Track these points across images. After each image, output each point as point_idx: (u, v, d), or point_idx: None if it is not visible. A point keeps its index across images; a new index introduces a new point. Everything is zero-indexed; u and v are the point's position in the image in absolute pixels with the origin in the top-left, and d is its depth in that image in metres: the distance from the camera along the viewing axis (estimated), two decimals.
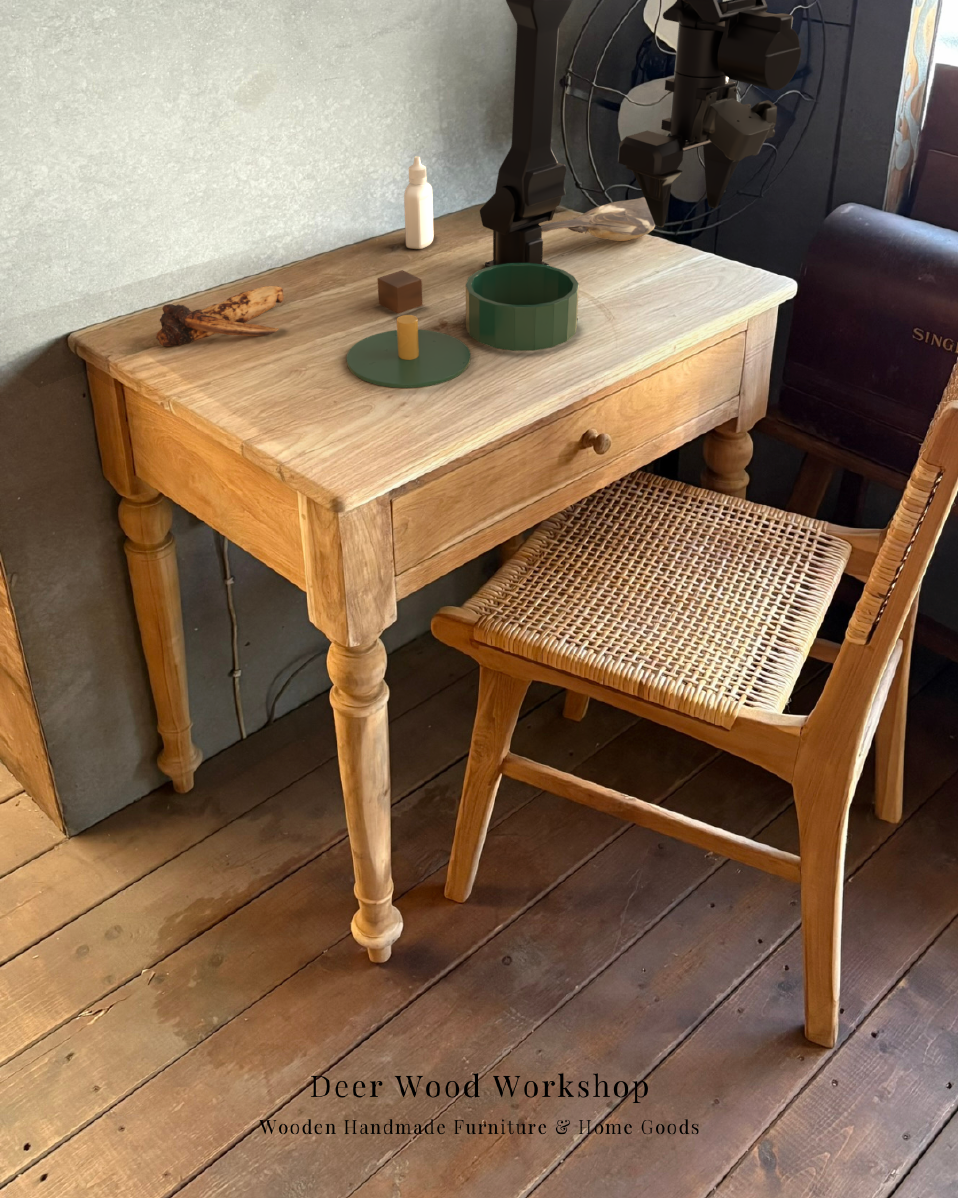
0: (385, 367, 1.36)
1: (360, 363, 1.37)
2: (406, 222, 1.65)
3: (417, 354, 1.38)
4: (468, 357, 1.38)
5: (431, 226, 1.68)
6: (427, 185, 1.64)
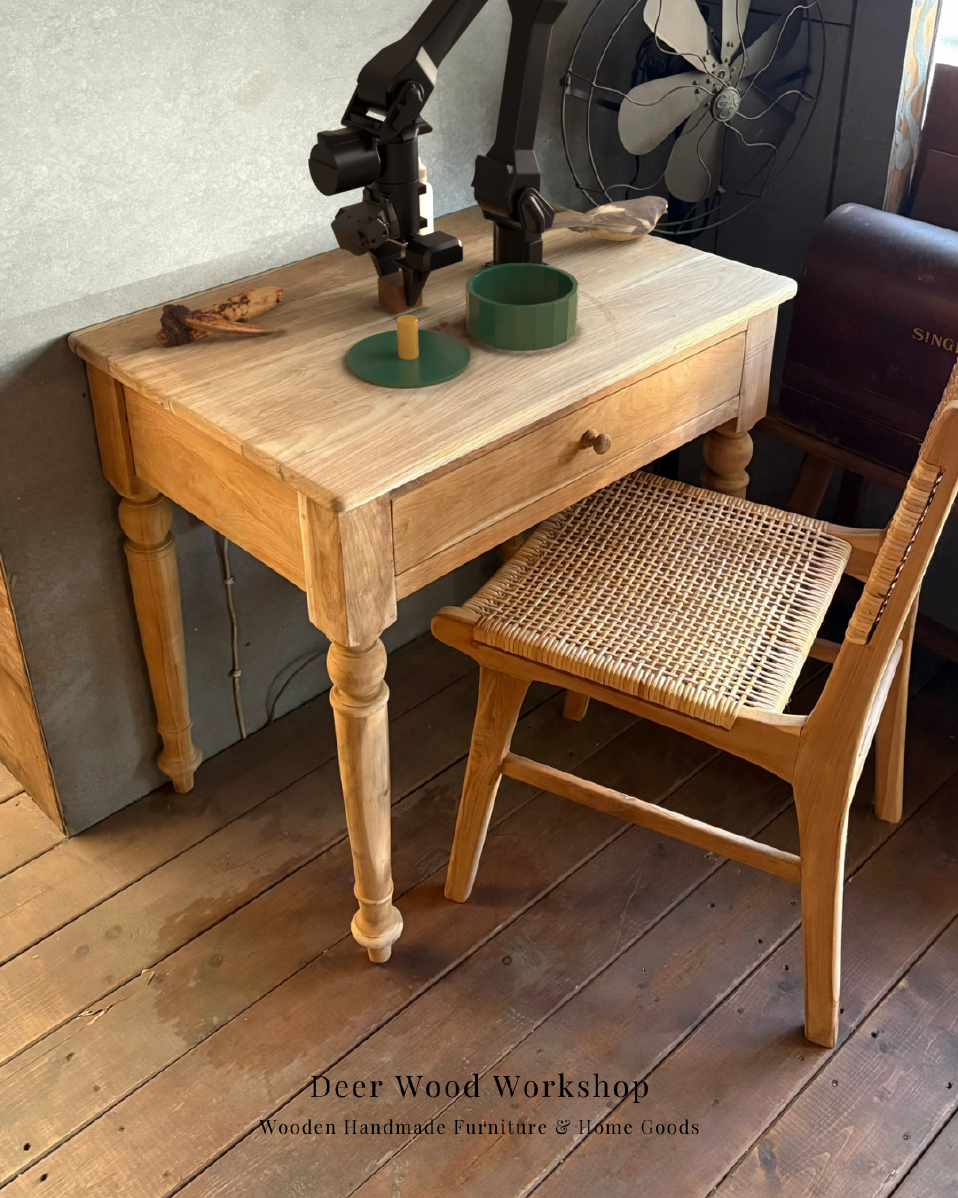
0: (385, 367, 1.36)
1: (360, 363, 1.37)
2: None
3: (417, 354, 1.38)
4: (468, 357, 1.38)
5: (431, 226, 1.68)
6: (427, 185, 1.64)
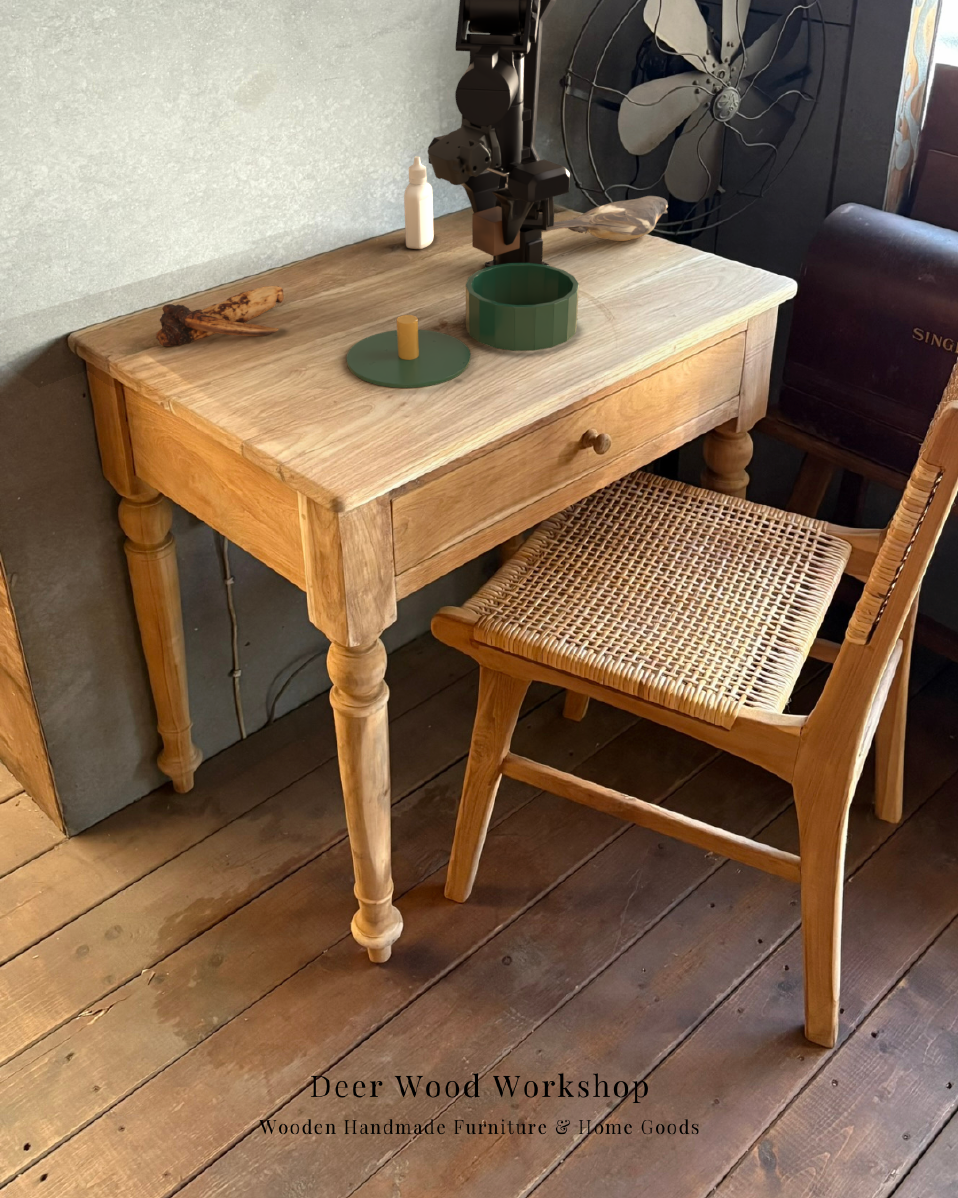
0: (385, 367, 1.36)
1: (360, 363, 1.37)
2: (406, 222, 1.65)
3: (417, 354, 1.38)
4: (468, 357, 1.38)
5: (431, 226, 1.68)
6: (427, 185, 1.64)
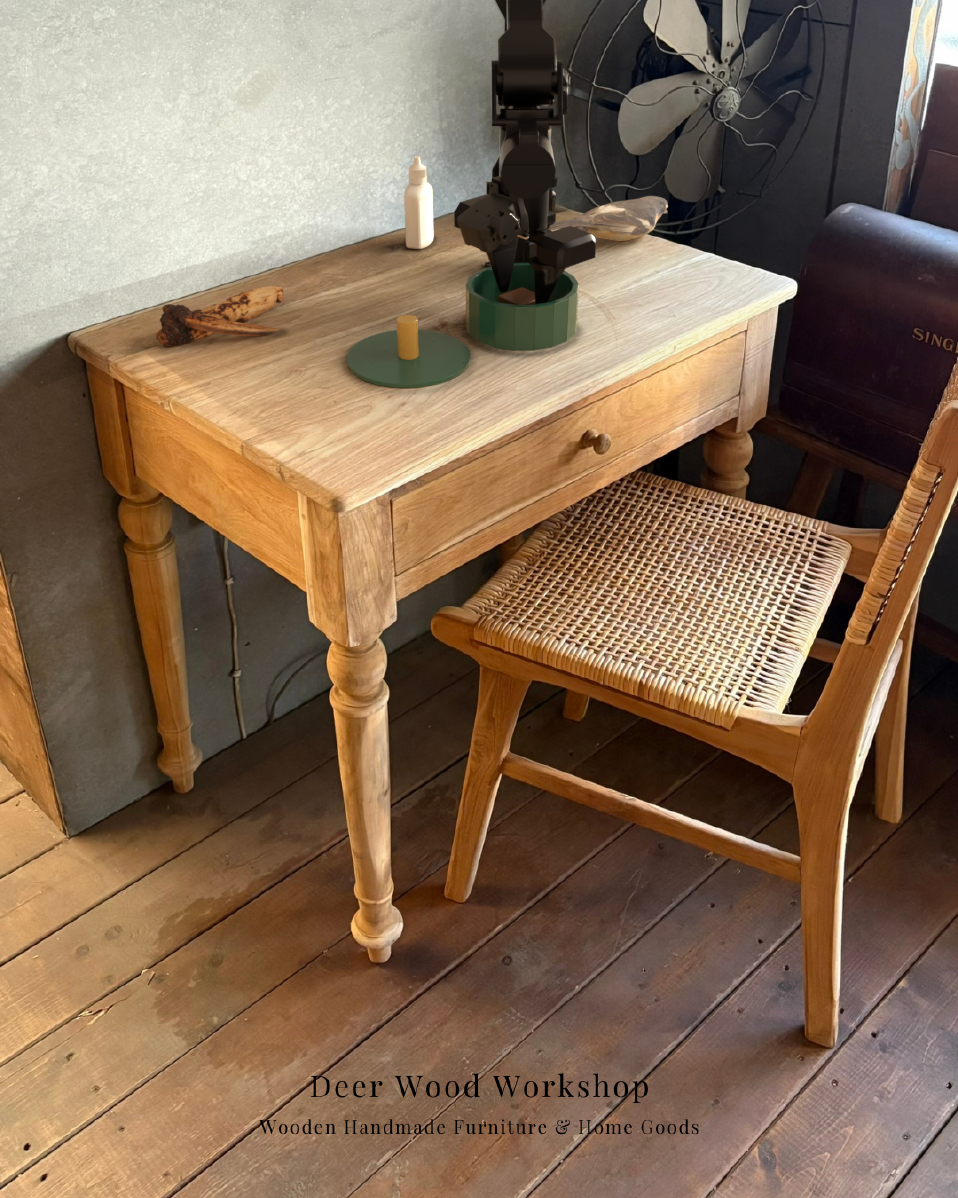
0: (385, 367, 1.36)
1: (360, 363, 1.37)
2: (406, 222, 1.65)
3: (417, 354, 1.38)
4: (468, 357, 1.38)
5: (431, 226, 1.68)
6: (427, 185, 1.64)
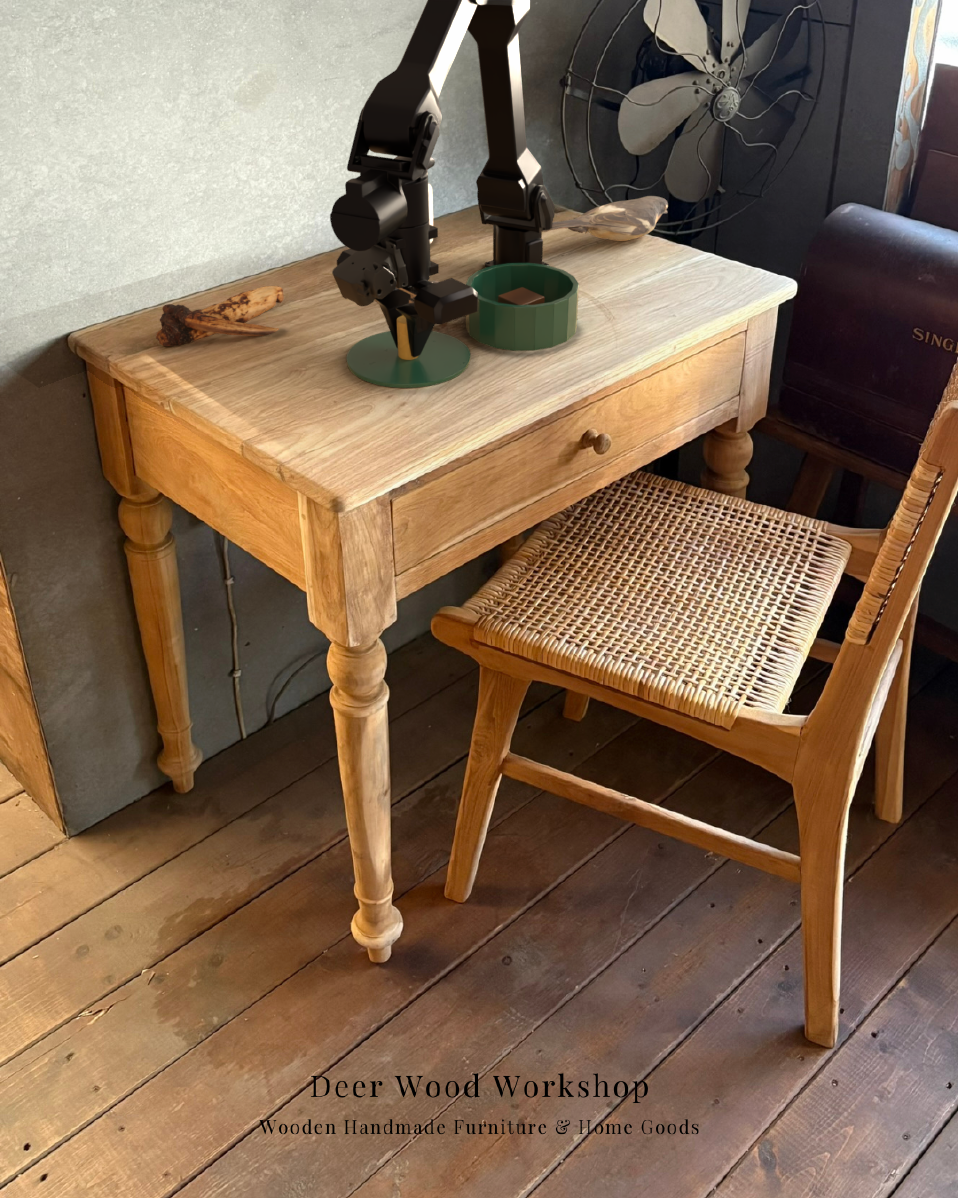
0: (385, 367, 1.36)
1: (360, 363, 1.37)
2: None
3: None
4: (468, 357, 1.38)
5: None
6: None
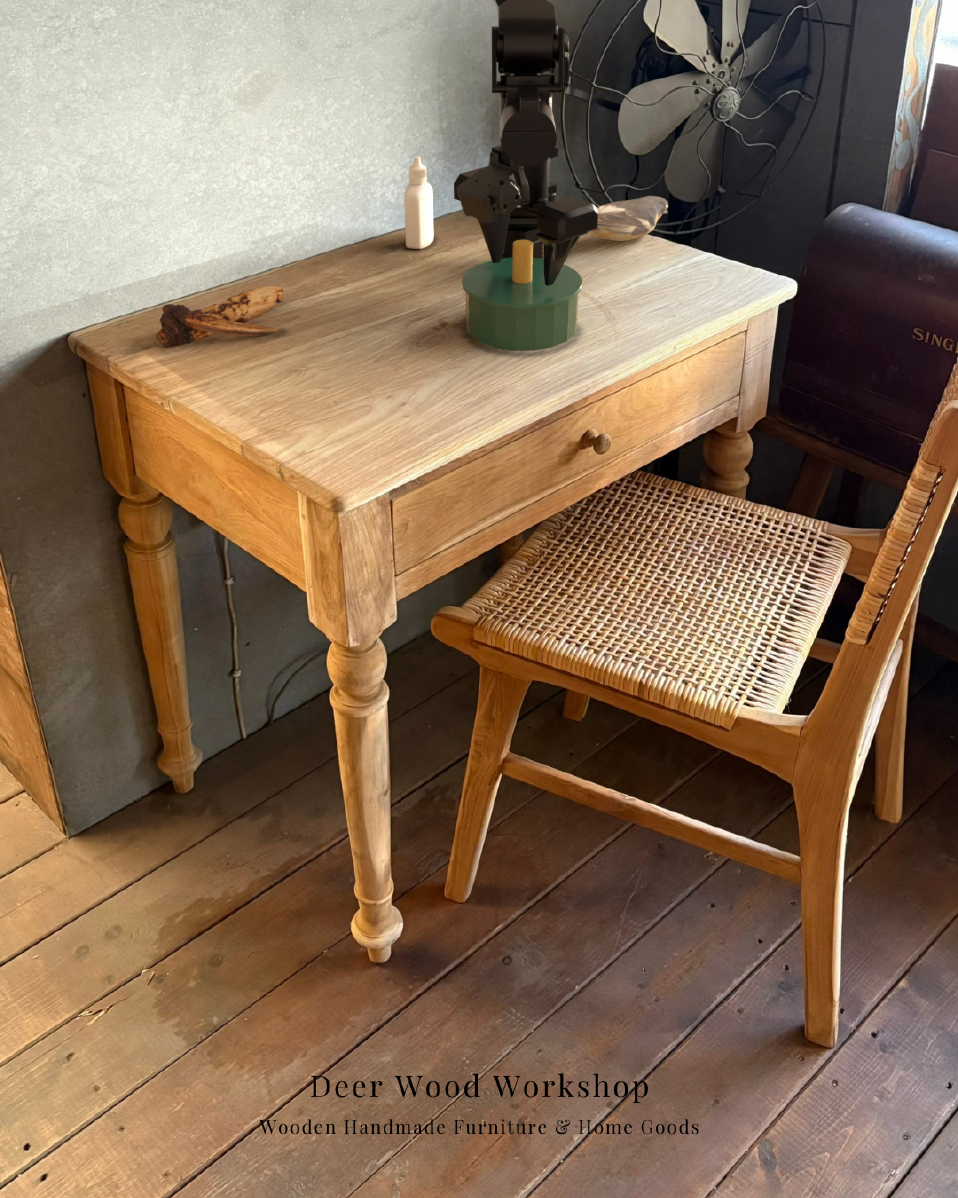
0: (501, 290, 1.40)
1: (476, 286, 1.41)
2: (406, 222, 1.65)
3: (531, 278, 1.42)
4: (580, 281, 1.42)
5: (431, 226, 1.68)
6: (427, 185, 1.64)
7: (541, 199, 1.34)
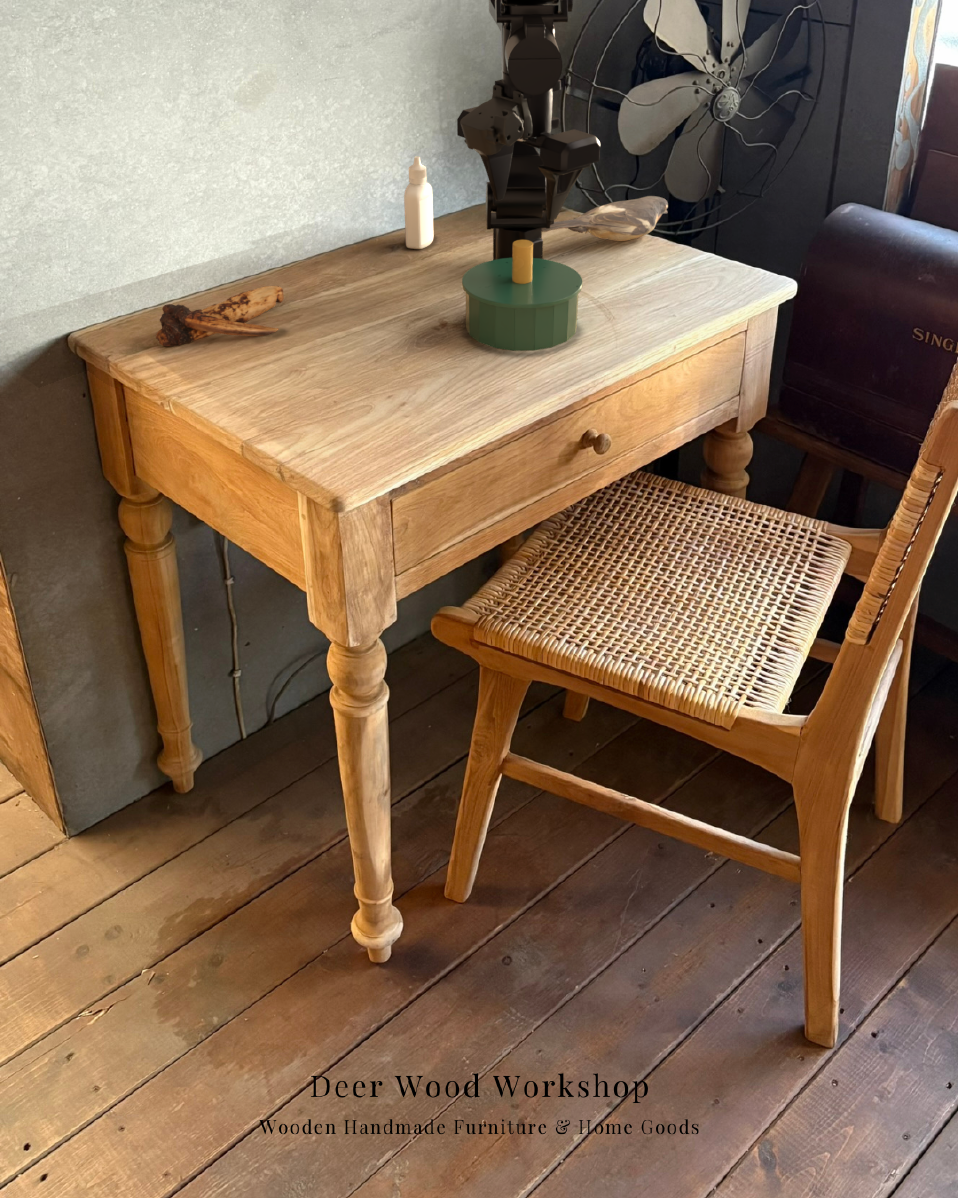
0: (501, 290, 1.40)
1: (476, 286, 1.41)
2: (406, 222, 1.65)
3: (531, 278, 1.42)
4: (580, 281, 1.42)
5: (431, 226, 1.68)
6: (427, 185, 1.64)
7: (544, 132, 1.35)
